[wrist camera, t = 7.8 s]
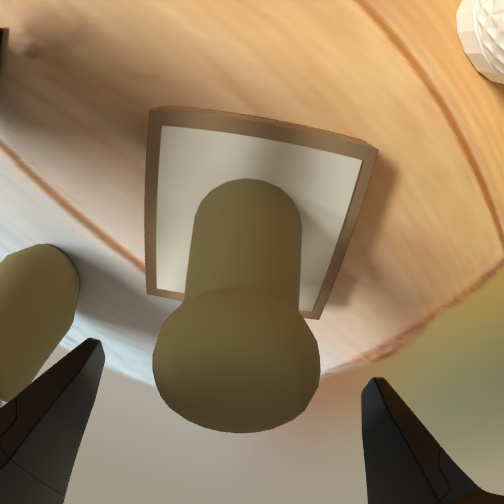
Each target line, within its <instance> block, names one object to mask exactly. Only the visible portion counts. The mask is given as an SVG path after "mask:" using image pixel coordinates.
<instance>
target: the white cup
mask: <svg viewBox="0 0 504 504" xmlns="http://www.w3.org/2000/svg"><path fill="white" fill-rule="evenodd" d="M456 21H457V34H458V36H459V39H460V42H461V44H462V47H463V50H464V53H465V54H466V56H467V57H468V59H469V60H470V61H471V63H472V64H473V66H474V67H475V69H476V70H477V71H478V72H480V73H481V74H482V75H484V76H485V77H486V78H488V79H489V80H490V81H492V82H497V83H501V84H504V0H462V2H461V4H460V6H459V9H458V11H457V13H456Z"/></svg>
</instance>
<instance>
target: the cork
mask: <svg viewBox="0 0 504 504" xmlns="http://www.w3.org/2000/svg"><path fill="white" fill-rule="evenodd" d="M301 245H302V227H301V219H300V213H299V212H298V210H297V208H296V206H295V204H294V202H293V200H292V199H291V198H290V197H289V196H288V195H287V194H286V193H285V192H284V191H282V190H281V189H280V188H279V187H277V186H274V185H272V184H270V183H268V182H266V181H264V180H256V179H248V178H243V179H238V180H232V181H227V182H225V183H223V184H222V185H220V186H218V187H216V188H214V189H212V190H211V191H210V192H209V193H208V194H207V196H206V197H205V198H204V199H203V200H202V201H201V202H200V205H199V207H198V210H197V212H196V214H195V217H194V224H193V231H192V238H191V245H190V253H189V261H188V268H187V277H186V285H185V294H184V303H183V304H182V305H180V306H179V307H178V308H177V309H176V310H175V311H174V312H173V313H172V314H171V315H170V317H169V318H168V319H167V320H166V322H165V323H164V324H163V327H162V329H161V332H160V335H159V337H158V340H157V343H156V346H155V349H154V352H153V374H154V379H155V383H156V386H157V388H158V391H159V393H160V396H161V397H162V399H163V400H164V401H165V403H166V404H167V405H168V406H169V407H170V408H171V409H172V410H173V411H175V412H176V413H178V414H179V415H181V416H182V417H184V418H185V419H187V420H188V421H190V422H193V423H195V424H197V425H199V426H202V427H205V428H209V429H212V430H217V431H221V432H231V433H253V432H260V431H265V430H269V429H273V428H275V427H277V426H280V425H283V424H285V423H287V422H289V421H291V420H293V419H295V418H296V417H297V416H299V415H300V414H301V413H302V412H304V411H305V409H306V407H307V406H308V404H309V402H310V401H311V399H312V397H313V395H314V393H315V391H316V389H317V388H318V385H319V378H320V355H319V350H318V345H317V341H316V339H315V337H314V335H313V333H312V332H311V330H310V328H309V326H308V325H307V323H306V322H305V320H304V318H303V317H302V315H301V313H299V296H300V274H301Z"/></svg>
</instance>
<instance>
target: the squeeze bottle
mask: <svg viewBox="0 0 504 504" xmlns="http://www.w3.org/2000/svg"><path fill="white" fill-rule="evenodd" d="M79 289H80V287H79V277H78V274H77V272H76V269H75V267H74V266H73V264H72V263H71V262H70V260H69V259H68V258H67V256H66V255H64V254H63V253H62V252H61V251H59V250H58V249H57V248H55V247H53V246H50V245H47V244H38V245H34V246H31V247H29V248H26V249H23V250H20V251H18V252H15V253H12V254H10V255H8V256H7V257H6V258H5V259H4V260H3V261H2V262H1V263H0V408H1V407H2V401H1V400H3V401H5V402H9V401H10V400H11V399H12V398H14V397H16V395H17V394H18V393H20V392H21V391H22V390H23V389H25V388H26V387H27V386H28V385H29V384H30V383H31V382H32V380H33V379H34V377H35V376H36V374H37V373H38V372H39V370H40V369H41V367H42V366H43V365H44V363H45V362H46V360H47V359H48V357H49V356H50V355H51V353H52V352H53V350H54V349H55V348H56V347H57V345H58V344H59V342H60V341H61V340H62V338H63V337H64V336H65V334H66V333H67V332H68V331H69V329H70V327H71V325H72V323H73V320H74V314H75V309H76V304H77V299H78V294H79Z"/></svg>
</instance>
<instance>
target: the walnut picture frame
mask: <svg viewBox="0 0 504 504" xmlns="http://www.w3.org/2000/svg"><path fill="white" fill-rule="evenodd" d="M377 153H378V149H376V148H375V147H373V146H372V145H370V144H368V143H367V142H365V141H363V140H360V139H356V138H352V137H349V136H345V135H341V134H337V133H333V132H329V131H325V130H321V129H317V128H312V127H308V126H303V125H298V124H294V123H289V122H284V121H278V120H273V119H268V118H262V117H256V116H250V115H243V114H236V113H229V112H222V111H214V110H205V109H195V108H185V107H172V106H162V107H158V108H155V109H151V110H150V113H149V125H148V137H147V153H146V173H145V269H146V289H147V294H149V295H154V296H160V297H165V298H171V299H176V300H182V301H184V294H185V285H186V277H187V268H188V261H189V253H190V245H191V238H192V231H193V224H194V217H195V214H196V212H197V210H198V207H199V205H200V202H201V201H202V200H203V199H204V198H205V197H206V196H207V194H208V193H209V192H210V191H211V190H212V189H214V188H216V187H218V186H220V185H222V184H223V183H225V182H227V181H232V180H238V179H243V178H248V179H256V180H264V181H266V182H268V183H270V184H272V185H274V186H277V187H279V188H280V189H281V190H282V191H284V192H285V193H286V194H287V195H288V196H289V197H290V198H291V199H292V200H293V202H294V204H295V206H296V208H297V210H298V212H299V213H300V219H301V227H302V245H301V274H300V296H299V313H301V315H302V317H303V318H307V319H316V320H319V319H320V316H321V314H322V312H323V309H324V307H325V304H326V302H327V299H328V297H329V294H330V292H331V289H332V287H333V284H334V282H335V279H336V276H337V274H338V271H339V269H340V266H341V263H342V261H343V258H344V255H345V252H346V250H347V247H348V244H349V241H350V238H351V236H352V233H353V230H354V227H355V224H356V221H357V218H358V215H359V212H360V209H361V206H362V203H363V200H364V197H365V193H366V190H367V187H368V184H369V180H370V177H371V174H372V170H373V167H374V164H375V160H376V157H377Z"/></svg>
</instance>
